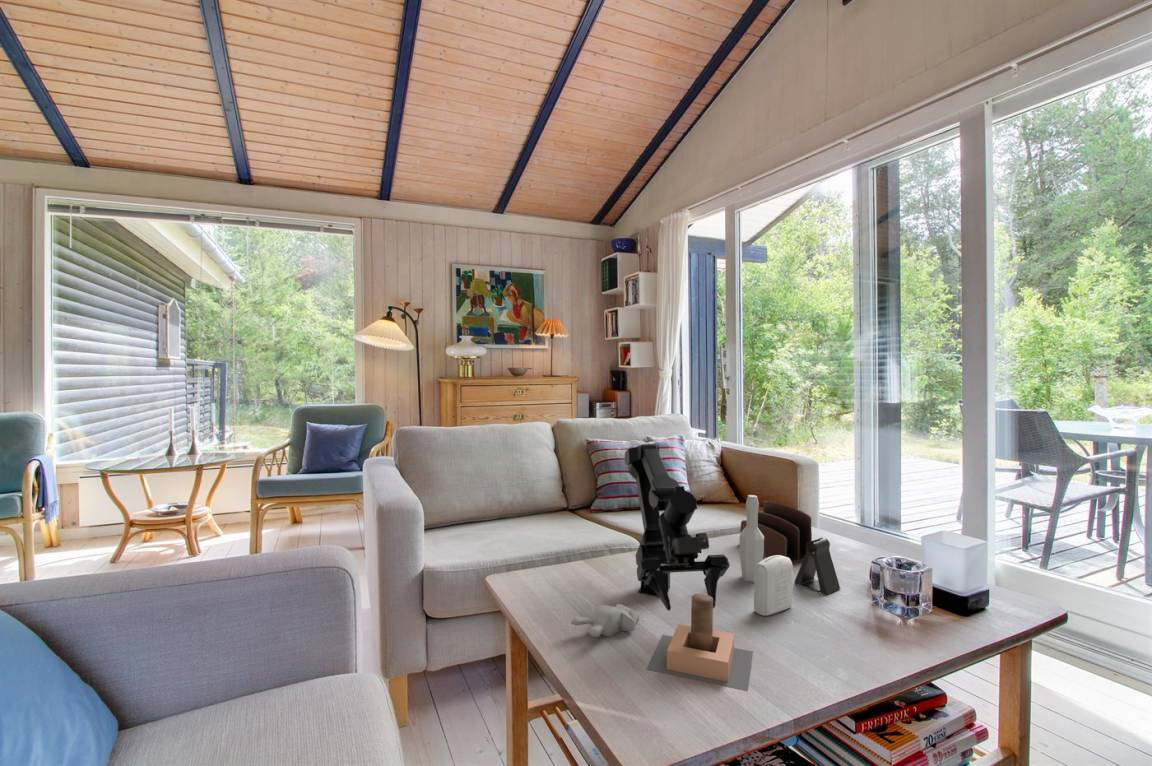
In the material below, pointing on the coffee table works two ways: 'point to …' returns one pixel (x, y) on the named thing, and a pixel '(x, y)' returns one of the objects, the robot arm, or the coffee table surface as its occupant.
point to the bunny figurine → (609, 620)
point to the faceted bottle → (751, 541)
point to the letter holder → (783, 531)
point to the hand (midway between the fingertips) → (691, 608)
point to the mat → (736, 677)
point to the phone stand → (818, 568)
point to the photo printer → (773, 585)
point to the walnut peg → (701, 622)
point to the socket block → (701, 655)
